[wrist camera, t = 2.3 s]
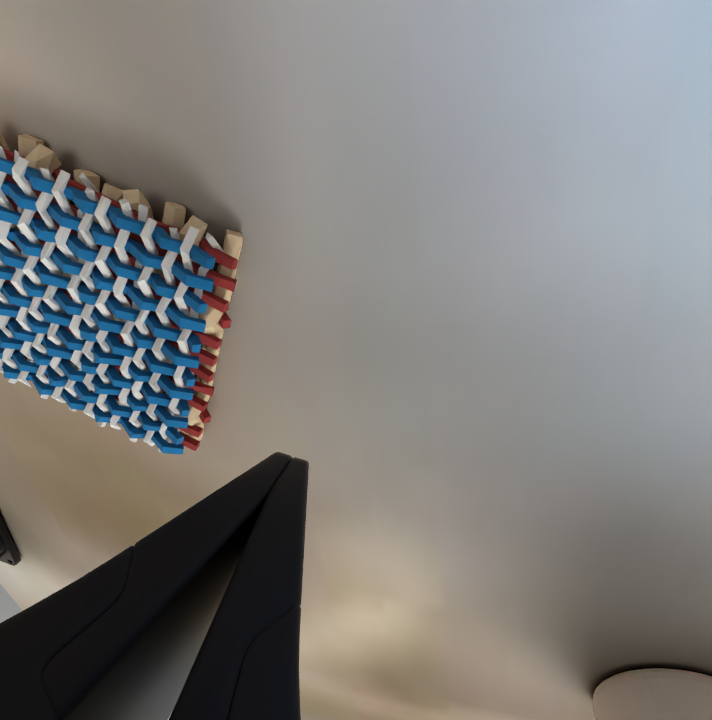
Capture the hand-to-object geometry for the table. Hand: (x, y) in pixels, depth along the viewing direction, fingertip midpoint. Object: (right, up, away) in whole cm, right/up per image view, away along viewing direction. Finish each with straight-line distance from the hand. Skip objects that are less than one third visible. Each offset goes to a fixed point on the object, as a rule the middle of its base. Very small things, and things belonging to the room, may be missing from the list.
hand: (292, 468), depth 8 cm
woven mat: (-8, +5, +6) cm, 11 cm away
